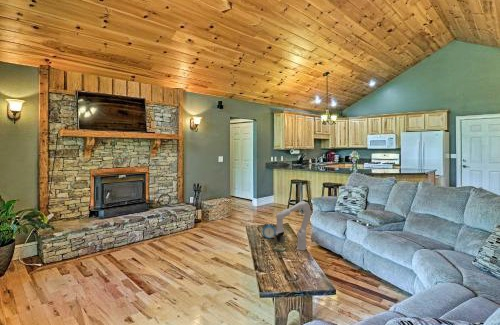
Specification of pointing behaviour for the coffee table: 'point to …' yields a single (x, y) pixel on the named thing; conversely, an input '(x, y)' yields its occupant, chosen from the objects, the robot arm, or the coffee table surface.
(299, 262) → the coffee table surface
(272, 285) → the coffee table surface
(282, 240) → the block
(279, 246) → the green and cream box
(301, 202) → the robot arm
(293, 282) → the coffee table surface
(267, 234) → the alarm clock
